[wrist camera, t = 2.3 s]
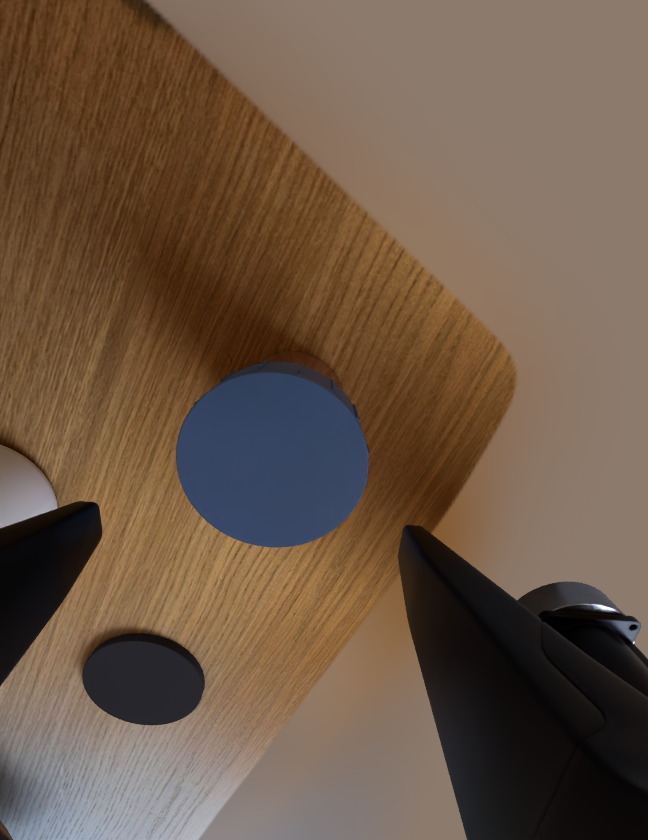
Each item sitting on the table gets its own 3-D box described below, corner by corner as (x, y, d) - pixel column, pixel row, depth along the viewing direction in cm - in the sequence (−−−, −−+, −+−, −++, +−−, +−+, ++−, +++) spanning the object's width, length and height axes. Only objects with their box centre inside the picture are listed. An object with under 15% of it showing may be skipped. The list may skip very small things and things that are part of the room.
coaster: (203, 637, 25) (201, 644, 25) (205, 720, 28) (203, 728, 28) (80, 629, 25) (74, 637, 25) (94, 713, 28) (89, 722, 27)
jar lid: (372, 368, 13) (382, 380, 11) (352, 519, 15) (357, 554, 13) (195, 353, 13) (169, 362, 11) (200, 507, 15) (178, 541, 13)
